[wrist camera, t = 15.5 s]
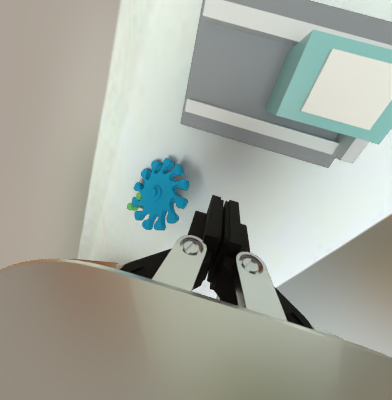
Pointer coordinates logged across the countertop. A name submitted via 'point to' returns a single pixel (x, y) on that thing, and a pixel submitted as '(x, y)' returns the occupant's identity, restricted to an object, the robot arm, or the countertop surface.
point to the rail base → (266, 73)
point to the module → (336, 86)
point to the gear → (159, 195)
